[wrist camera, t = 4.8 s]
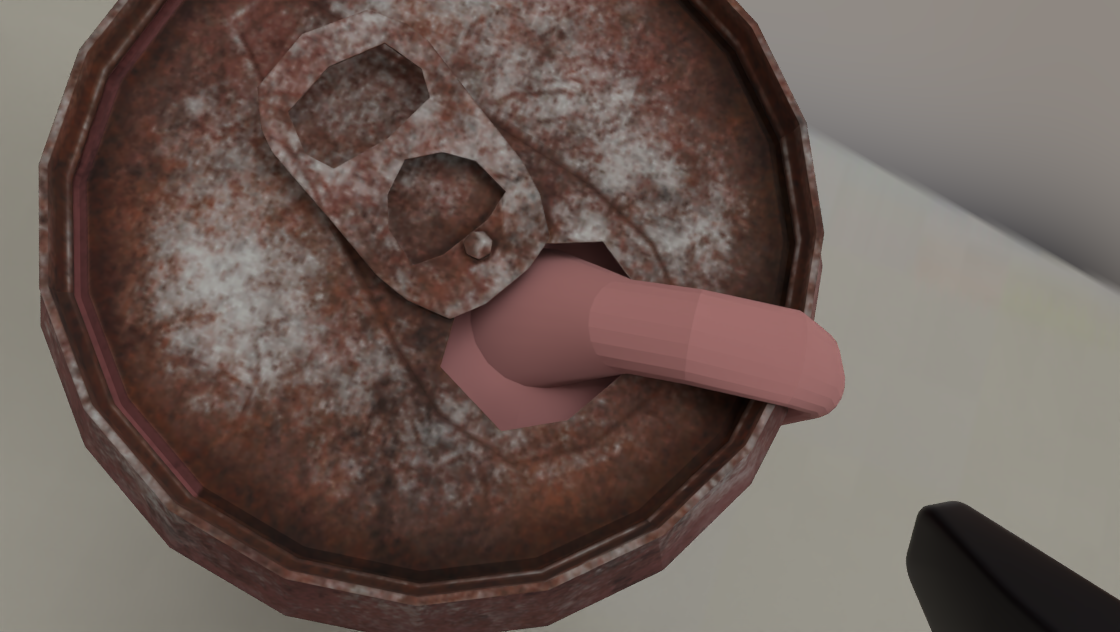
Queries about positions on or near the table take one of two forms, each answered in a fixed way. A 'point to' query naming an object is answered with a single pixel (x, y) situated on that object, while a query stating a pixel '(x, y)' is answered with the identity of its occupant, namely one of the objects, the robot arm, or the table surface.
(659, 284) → the can
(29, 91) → the table surface
